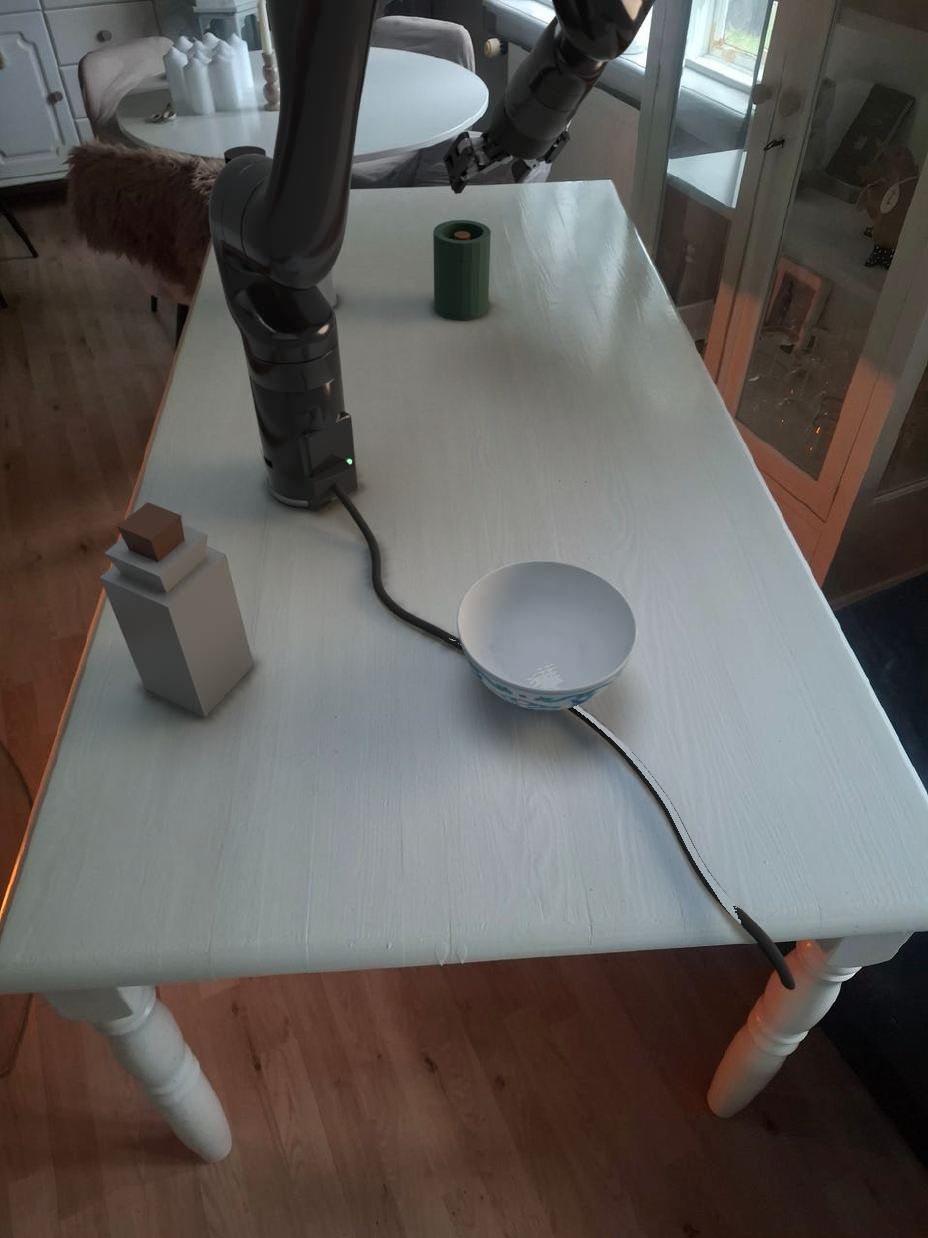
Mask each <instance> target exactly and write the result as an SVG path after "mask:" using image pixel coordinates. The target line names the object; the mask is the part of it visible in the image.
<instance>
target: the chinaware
mask: <svg viewBox="0 0 928 1238" xmlns="http://www.w3.org/2000/svg"><path fill="white" fill-rule="evenodd" d="M456 629H457V635H458V638H459V639H460V642H461V646H462V649H463V651H464V652H463V651H462V652H463V653H464V656H465V658H466V660H467V662H468V664H469V665H470V667H471V669H472V671H473V672H474V674H475V675H476V676H477V678H478V679H479V680H480V681H481V682H482V684H484V685H485V686H486V688H488V689H489V690H490V691H492V692H493V693H494V694H496V695H497V696H498V697H500V698H501V699H503V700H505V701H506V702H509V703H511V704H513V705H516V706H519V707H522V708H524V709H529V710H535V711H546V712H547V711H548V712H549V711H559V710H565V709H566V708H571V707H574V706H577V705H579V706H581V705H582V704H585V703H587V702H589V701H590V700H592V699H594V698H595V697H597V696H598V695H600V694H601V693H603V692H604V691H605V690H606V689H608V688H609V687H610V686H611V685H612V684H613V683H614V681H615V680H617V678H618V677H619V676H620V675H621V673H622V672H623V670H624V669H625V667H626V666H627V664H628V662H629V661H630V659H631V657H632V656H633V653H634V651H635V648H636V645H637V640H638V623H637V618H636V615H635V612H634V609H633V608H632V606H631V603H630V602H629V601H628V599H627V597H626V596H625V595H624V594H623V593H622V592H621V590H619V589H618V588H617V587H616V586H615V585H613V583H611V582H610V581H609V580H607V579H606V578H604V577H603V576H601V575H600V574H599V573H596V572H594V571H592V570H590V569H587V568H584V567H582V566H579V565H576V564H572V563H568V562H563V561H559V560H558V561H557V560H550V559H549V560H548V559H547V560H546V559H531V560H523V561H522V560H521V561H517V562H513V563H508V564H506V565H502V566H500V567H497V568H495V569H493V570H491V571H489V572H487V573H485V574H483V575H482V576H481V577H480V578H478V579H477V580H476V581H474V583H473V584H472V585H470V587H469V588H468V589H467V590H466V592H464V595H463V597H462V598H461V600H460V603H459V606H458V609H457V614H456ZM544 662H546V663H544ZM550 664H555V665H552V666H549V668H553V667H559V668H555V669H553V670H552V671H551V672H553V671H557V673H556V674H555V675H560V676H559V677H558V678H561V680H564V681H562V682H561V683H559V684H557V686H556V687H558V688H560V689H553V688H548V689H544V688H540V687H541V686H542V685H538V686H537V687H533V686H534V685H535V684H536V683H537V682H534V683H533V684H530V682H531V681H532V680H533V679H531V680H526V679H528V678H537V677H539V676H541V675H543V674H542V673H540V674H539V673H538V672H541V671H543V670H546V669H549V668H544V667H543V666H546V665H550ZM540 667H542V669H541V670H535V669H538V668H540ZM531 671H532V672H531ZM536 673H537V674H536ZM546 673H549V672H548V671H545V673H544V674H546ZM534 674H536V675H535V676H532V675H534ZM552 676H554V675H552ZM547 677H550V675H548V676H547ZM540 678H542V677H540ZM556 687H555V688H556ZM566 710H567V709H566Z"/></svg>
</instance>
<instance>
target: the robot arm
mask: <svg viewBox="0 0 928 1238" xmlns="http://www.w3.org/2000/svg"><path fill="white" fill-rule="evenodd" d="M656 1H657V0H551V4H552V8H553V11H554V13H555V15H554V17H553V18H552V20H551V21H550V22H549V24H547V26H546V27H545V28H544V29H543V31H542V33H541V34H540V35H539V37H538V38H537V40H536V42H535V44H534V45H533V47H532V49H531V50H530V52H529V54H528V55H526V57H525V58H524V59H523V61H522V62H521V63H520V64H519V66H518V67H517V69H516V70H515V72H514V73H513V75H512V76H511V78H510V80H509V81H508V83H507V85H506V86H505V88H504V90H503V91H502V92H501V95H500V96H499V98H498V100H497V101H496V102H495V105H494V106H493V109H492V113H491V118H490V123H489V127H488V128H487V129H486V130H484V131H483V132H482V133H481V134H480V136H477V137H471V136H470V132H469V131H467V130H465V131H462V132H460V133H459V134H458V135H457V136H456V138H455V139H454V141H453V143H452V144H451V146H450V148H449V149H448V150H447V152H446V153H445V154H444V156H443V158H442V160H443V163H444V164H445V170H446V172H447V176H448V177H447V178H448V182H449V185H450V189H451V191H453V193H454V194H455V195H458V194H462V192H464V189H466V187H467V185H468V184H469V182H470V180H471V178H473V177H475V176H476V175H478V174H482V175H486V174H487V173H489V172H491V171H492V170H494V169H496V168H497V167H499V166H500V165H507V164H508V163H512V165H511V166H510V170H511V174H512V178H513V181H514V183H515V184H519V183H520V184H521V183H523V181H524V180H525V179H526V177H528V176H529V175H530V173H531V172H532V171H533V170H534V169H538V168H539V167H540V166H541V163H543V162H544V163H545V164H546V165H550V164H552V163H553V162H555V160H556V159H557V158H558V156H559V155H560V154H561V152H562V151H563V149H564V148H565V147H566V145H567V144H568V143H569V141H570V140H571V136H570V133H569V129H568V125H569V124H570V123H571V122H572V120H573V119H574V117H575V116H576V114H577V112H578V111H579V109H580V107H581V104H582V103H583V101H584V100H585V99H586V97H588V95H589V93H590V92H591V91H592V90H593V88H594V87H595V86H596V84H597V83H598V82H599V80H600V79H601V77H602V75H603V73H604V71H605V69H606V68H607V66H608V63H609V62H611V61H613V60H615V59H617V58H619V57H620V56H622V55H623V54H624V52H626V51H627V50H628V48H629V47H630V46H631V45H632V43H633V41H634V39H636V37H637V34H638V33H639V32H640V29H641V27H642V25H643V24H644V22H645V20H646V19H647V17H648V15H649V13H650V11H651V10H652V8H653V6H654V4H655V2H656ZM265 4H266V11H267V16H268V21H269V22H268V23H269V29H270V33H271V34H270V35H271V38H272V44H273V49H274V54H275V60H276V66H277V67H276V68H277V73H278V74H277V75H278V83H279V84H278V85H279V108H278V110H279V111H278V122H277V129H276V135H275V142H274V148H273V155H272V157H270V156H268V155H266V156H264V155H259V154H246V155H242V156H239V157H236V158H234V159H232V160H231V161H229V162H228V163H227V164H226V165H225V164H224V165H223V167H222V168H221V169H220V170H219V172H218V174H217V175H216V177H215V178H214V181H213V183H212V186H211V190H210V193H209V199H208V223H209V224H208V225H209V232H210V236H211V242H212V246H213V252H214V256H215V260H216V264H217V268H218V273H219V278H220V282H221V285H222V289H223V295H224V299H225V302H226V305H227V308H228V310H229V314H230V315H231V318H232V320H233V321H234V323H235V325H236V327H237V328H238V330H239V333H240V336H241V341H242V346H243V351H244V356H245V362H246V367H247V371H248V372H247V374H248V379H249V383H250V384H249V385H250V390H251V395H252V400H253V407H254V411H255V417H256V422H257V427H258V432H259V433H258V434H259V438H260V444H261V447H259V451H260V454H261V457H262V461H263V464H264V467H265V471H266V477H267V478H266V480H267V485H268V490H269V493H270V494H271V495H272V496H273V498H275V499H277V501H279V502H281V503H283V504H285V505H289V506H292V507H297V508H308V509H311V510H312V511H313V512H318V511H320V510H322V509H324V508H326V507H328V506H329V505H331V504H332V503H334V502H336V501H338V500H339V501H340V502H341V503H342V505H343V507H344V508H345V509H346V511H347V513H348V514H349V515H350V516H351V518H352V520H353V521H354V523H355V524H356V526H357V527H358V529H359V530H360V532H361V533H362V535H363V537H364V539H365V541H366V542H367V545H368V548H369V551H370V555H371V579H372V586H373V589H374V592H375V594H376V596H377V597H378V598H379V600H380V601H381V603H382V604H383V606H385V608H387V609H388V610H389V611H390V612H392V614H394V615H395V616H397V617H398V618H399V619H401V620H403V621H405V622H406V623H408V624H410V625H411V626H414V627H416V628H418V629H419V630H421V631H424V632H426V633H428V634H429V635H431V636H434V637H436V638H438V639H439V640H442V641H443V642H445V643H446V644H449V645H450V646H452V647H454V648H455V649H457V650H459V651H461V652H463V653H464V651H463V649H462V646H461V645H460V644H461V642H460V640H459V639H458V638H459V637H457V636H455V635H453V634H451V633H450V632H448V631H446V630H444V629H443V628H440V627H438V626H436V625H434V624H432V623H431V622H428V621H427V620H424V619H422V618H420V617H418V616H416V615H414V614H412V613H410V612H409V611H407V610H406V609H404V608H403V607H402V606H400V605H399V604H397V602H395V601H394V600H393V598H392V597H390V595H389V594H388V592H387V591H386V589H385V587H384V585H383V582H382V564H381V562H382V561H381V552H380V549H379V544H378V542H377V539H376V537H375V535H374V533H373V532H372V530H371V528H370V526H369V525H368V523H367V522H366V520H365V519H364V517H363V516H362V514H361V513H360V511H359V510H358V508H357V507H356V506H355V504H354V503H353V501H352V500H351V499H350V497H349V496H348V495H347V494H350V493H351V492H353V491H354V490H356V489H358V487H359V485H358V474H357V472H358V471H357V464H356V453H355V440H354V431H353V421H352V415H351V414H350V413H349V412H347V411H346V404H345V395H344V394H345V393H344V383H343V374H342V364H341V363H342V362H341V352H340V342H339V332H338V331H339V330H338V322H337V316H336V312H335V310H334V307H333V308H332V306H331V305H330V303H329V302H328V301H327V299H326V298H325V297H324V295H323V294H322V293H321V291H320V290H319V288H318V286H317V284H319V283H320V282H321V281H322V280H323V279H324V278H325V277H326V276H327V275H328V274H329V272H330V271H331V269H332V270H333V267H334V266H335V264H336V262H337V260H338V258H339V255H340V253H341V250H342V246H343V244H344V238H345V235H346V229H347V228H346V227H347V221H348V213H349V207H350V205H349V204H350V194H351V187H352V186H351V185H352V177H353V176H352V175H353V167H354V166H353V165H354V158H355V157H354V155H355V148H356V147H355V146H356V139H357V138H356V137H357V129H358V121H359V114H360V110H361V109H360V108H361V103H362V97H363V92H364V85H365V79H366V73H367V69H368V68H367V67H368V64H369V63H368V62H369V58H370V57H369V56H370V51H371V45H372V40H373V34H374V33H373V32H374V28H375V23H376V17H377V12H378V8H379V4H380V0H265ZM482 152H483V154H484V155H485V157H486V158H487V160H488V161H487V162H485V160H484V157H483V155H482ZM471 161H473V166H472V167H470V168H469V163H470V162H471ZM456 637H457V638H456ZM449 638H450V639H453V640H456V641H452V640H450V639H449ZM458 643H459V644H458ZM566 710H568V711H569V712H571V713H572V714H573V715H575V716H576V717H578V718H579V719H580V720H581V721H583V723H585V724H586V725H588V727H590V728H591V729H592V730H593V731H595V733H597V734H598V735H599V736H600V737H602V738H603V740H604V741H606V742H607V743H608V744H609V745H610V746H611V747H612V748H613V749H614V750H615V751H616V752H617V753H618V754H619V755H620V756H621V757H622V758H623V760H624V761H625V762H626V763H627V764H628V765H629V767H631V769H632V770H633V771H634V772H635V774H636V775H637V776H638V777H639V779H640V780H641V782H642V783H643V784H644V785H645V786H646V788H647V789H648V791H649V792H650V793H651V795H652V796H653V798H654V799H655V800H656V802H657V803H658V805H659V807H660V808H661V810H662V812H663V813H664V815H665V817H666V819H667V820H668V822H669V824H670V827H671V828H672V830H673V832H674V835H675V836H676V838H677V841H678V843H679V844H680V845H679V846H680V847H681V849H682V851H683V853H684V855H685V857H686V858H687V860H688V862H689V864H690V866H691V868H692V869H693V871H694V872H695V874H696V875H697V877H698V878H699V880H700V882H701V883H702V884H703V886H704V887H705V889H706V890H707V891H708V892H709V894H710V895H711V896H712V897H713V899H714V900H715V901H716V902H717V904H719V906H721V907H722V908H723V909H724V910H725V912H727V913H728V914H729V915H730V913H729V912H728V911H727V910H726V908H725V907H724V906H723V905H722V903H721V902H720V900H719V899H718V897H717V895H716V894H715V892H714V891H713V889H712V888H711V886H710V885H709V883H708V882H707V880H706V879H705V877H704V876H703V874H702V873H701V871H700V870H699V868H698V866H697V865H696V863H695V861H694V860H693V858H692V856H691V854H690V852H689V851H688V849H687V847H686V845H685V843H684V841H683V839H682V837H681V835H680V833H679V831H678V829H677V827H676V825H675V823H674V821H673V819H672V817H671V815H670V813H669V811H668V809H667V808H666V806H665V804H664V803H663V801H662V800H661V798H660V797H659V795H658V794H657V792H656V791H655V790H654V788H653V787H652V785H651V784H650V783H649V781H648V780H647V779H646V778H645V776H644V775H643V774H642V772H641V771H640V770H639V769H638V767H637V766H636V765H635V764H634V763H633V761H632V760H631V759H630V758H629V757H628V756H627V755H626V753H625V752H624V751H623V750H622V749H621V748H620V747H619V746H618V745H617V744H616V743H615V742H614V741H613V740H612V739H611V738H610V737H608V736H607V735H606V734H605V733H604V732H603V731H602V730H601V729H599V728H598V727H597V726H596V725H595V724H594V723H592V722H591V721H590V720H589V719H588V718H586V717H585V716H584V715H582V714H581V713H580V712H578V711H577V710H576V709H574V708H573V707H571V708H566ZM591 715H592V716H594V715H593V714H591ZM603 725H604V726H606V725H605V724H603ZM611 732H612V733H613V734H615V733H614V732H613V731H611ZM632 753H633V754H634V755H635V756H636V754H635V753H634V752H633V751H632ZM636 757H637V756H636ZM639 761H640V762H641V763H642V764H643V762H642V761H641V760H640V759H639ZM644 767H645V768H646V769H647V770H648V768H647V767H646V766H645V765H644ZM648 772H649V773H650V774H651V772H650V771H649V770H648ZM652 777H653V778H654V779H655V777H654V776H653V775H652ZM655 781H656V782H657V783H658V781H657V780H656V779H655ZM658 785H659V786H660V787H661V785H660V784H659V783H658ZM661 789H662V790H663V788H662V787H661ZM663 792H664V793H665V794H666V792H665V791H664V790H663ZM666 796H667V797H668V795H667V794H666ZM668 799H669V800H670V798H669V797H668ZM670 802H671V804H672V805H673V807H674V809H675V811H676V812H677V814H678V816H679V818H680V820H681V822H682V824H683V826H684V828H685V830H686V832H687V834H688V836H689V838H690V840H691V842H692V844H693V846H694V848H695V849H696V851H697V853H698V855H699V857H700V858H701V860H702V862H703V863H704V865H705V867H706V868H707V870H708V871H709V873H710V874H711V876H712V877H713V878H714V876H713V875H712V873H711V871H710V870H709V869H708V867H707V865H706V863H705V862H704V861H703V859H702V857H701V856H700V854H699V852H698V850H697V848H696V846H695V844H694V842H693V840H692V839H691V836H690V834H689V833H688V830H687V829H686V826H685V824H684V823H683V820H682V819H681V817H680V815H679V813H678V811H677V810H676V807H675V806H674V804H673V803H672V801H671V800H670ZM714 880H715V881H716V882H717V880H716V879H715V878H714ZM717 884H718V885H719V886H720V887H721V885H720V884H719V883H718V882H717ZM723 891H724V892H725V893H726V891H725V890H724V889H723ZM733 907H734V909H735V910H737V911H735V913H737V915H738V919H740V920H741V925H742V926H743V927H742V926H741V925H740V926H741V927H742V928H743V929H744V931H746V932H747V933H748V934H749V935H750V936H751V937H752V939H753V940H754V941H755V942H756V943H757V945H759V946H760V948H761V950H762V951H763V952H764V954H765V955H766V956H767V958H768V959H769V960H770V962H771V964H772V965H773V968H774V969H775V972H776V973H777V975H778V978H779V981H780V983H781V985H782V986H783V987H784V988H785V989H787V990H789V991H793V990H795V988H796V986H797V985H796V981H795V979H794V976H793V973H792V971H791V969H790V967H789V964H788V963H787V961H786V959H785V958H784V956H783V954H782V952H781V951H780V949H779V948H778V946H777V945H776V943H775V942H774V941H773V939H772V938H771V937H770V936H769V935H768V933H766V931H765V930H764V929H763V928H762V927H761V926H760V925H759V924H758V923H757V922H756V921H755V920H754V919H753V918H752V917H751V916H750V915H748V914H747V912H746V911H744V909H742V908H741V907H740V908H741V909H740V908H738V907H737V908H735V907H736V906H733ZM749 916H750V917H751V918H752V919H753V920H754V921H755V922H754V921H753V920H752V919H751V918H750V917H749Z"/></svg>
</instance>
